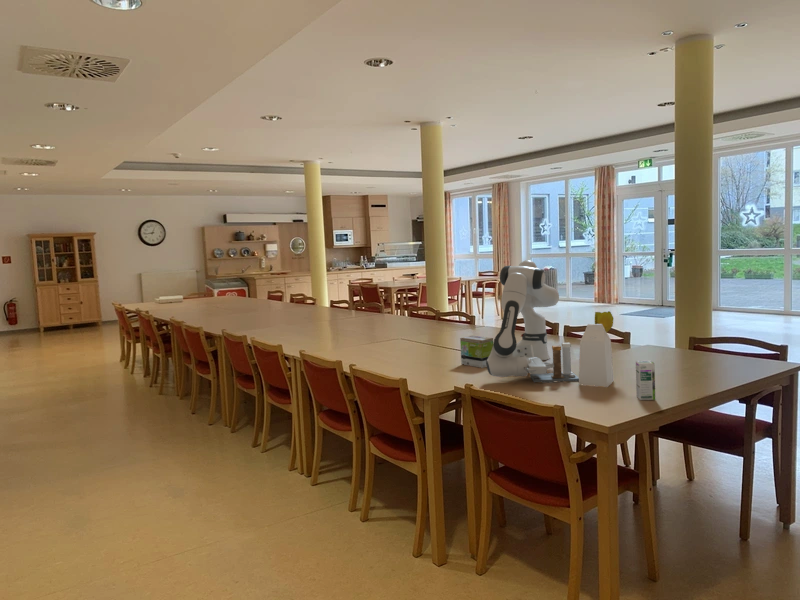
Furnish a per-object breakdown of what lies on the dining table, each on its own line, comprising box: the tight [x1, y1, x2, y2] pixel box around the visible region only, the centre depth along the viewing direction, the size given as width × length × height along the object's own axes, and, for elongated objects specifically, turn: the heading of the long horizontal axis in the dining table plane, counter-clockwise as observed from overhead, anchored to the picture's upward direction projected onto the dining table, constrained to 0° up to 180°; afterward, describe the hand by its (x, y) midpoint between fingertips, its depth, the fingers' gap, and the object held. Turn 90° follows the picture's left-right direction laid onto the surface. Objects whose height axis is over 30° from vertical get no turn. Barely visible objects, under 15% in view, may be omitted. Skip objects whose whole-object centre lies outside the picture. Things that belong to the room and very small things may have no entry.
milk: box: [578, 323, 615, 388], centre depth 255 cm, size 12×12×26 cm
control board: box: [529, 372, 579, 384], centre depth 268 cm, size 20×13×2 cm, turn 86°
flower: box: [594, 310, 614, 333], centre depth 267 cm, size 9×8×30 cm
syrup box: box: [635, 360, 656, 401], centre depth 227 cm, size 6×6×14 cm
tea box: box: [459, 335, 494, 369], centre depth 308 cm, size 15×10×15 cm, turn 42°
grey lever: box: [561, 342, 574, 375], centre depth 270 cm, size 5×4×14 cm
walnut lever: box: [551, 344, 564, 378], centre depth 264 cm, size 5×4×14 cm
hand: (553, 365), depth 265 cm, fingers closed, pressing on walnut lever
